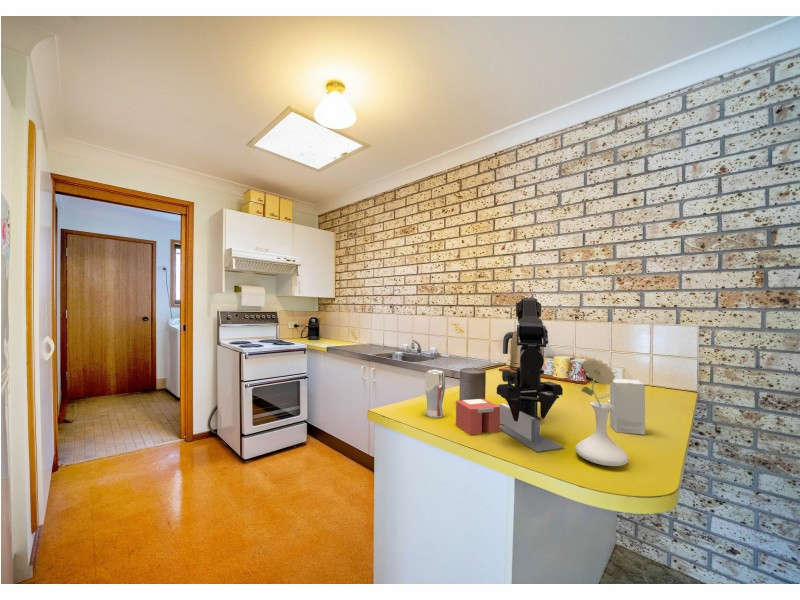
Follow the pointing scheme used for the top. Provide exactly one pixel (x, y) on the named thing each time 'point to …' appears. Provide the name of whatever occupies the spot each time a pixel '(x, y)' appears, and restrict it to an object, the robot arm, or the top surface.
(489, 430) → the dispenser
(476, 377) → the pillar candle
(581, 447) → the flower in vase
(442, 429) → the top surface
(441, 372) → the beer glass
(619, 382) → the skincare box
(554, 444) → the mat
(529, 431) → the grey rectangular bar
